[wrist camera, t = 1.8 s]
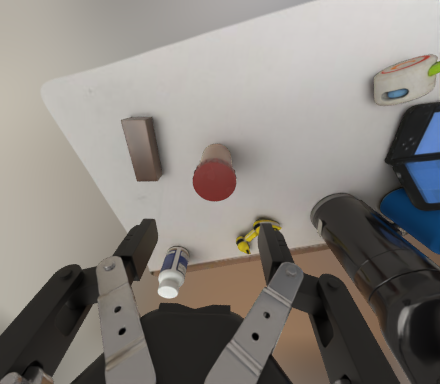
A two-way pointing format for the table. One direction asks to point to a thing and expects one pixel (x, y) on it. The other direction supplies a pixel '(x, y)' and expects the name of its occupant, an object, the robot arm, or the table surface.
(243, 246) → the yellow curved piece
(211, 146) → the jar
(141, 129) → the lid rest
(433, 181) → the game console
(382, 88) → the roller toy
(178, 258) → the pill bottle
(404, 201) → the beverage can
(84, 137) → the table surface
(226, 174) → the jar lid
